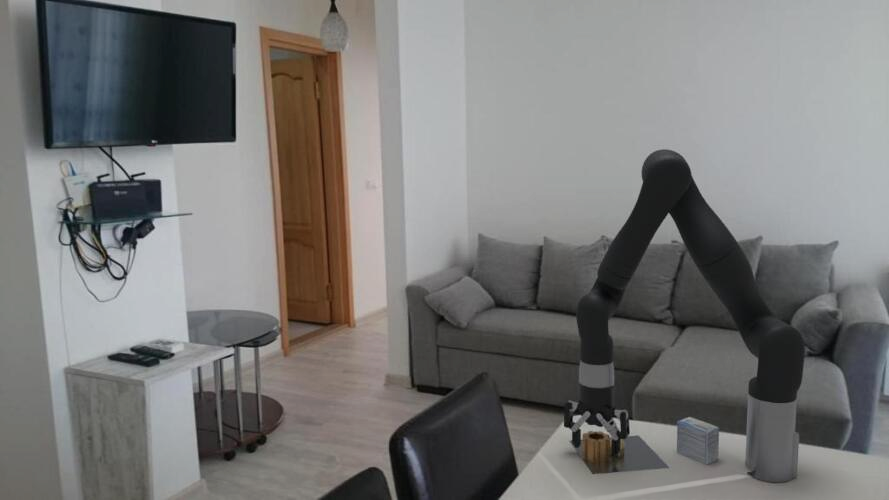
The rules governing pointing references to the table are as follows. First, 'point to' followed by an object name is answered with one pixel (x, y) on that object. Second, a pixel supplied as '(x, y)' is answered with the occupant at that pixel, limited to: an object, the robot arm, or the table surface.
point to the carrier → (626, 457)
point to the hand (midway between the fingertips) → (596, 450)
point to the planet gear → (596, 447)
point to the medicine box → (698, 440)
